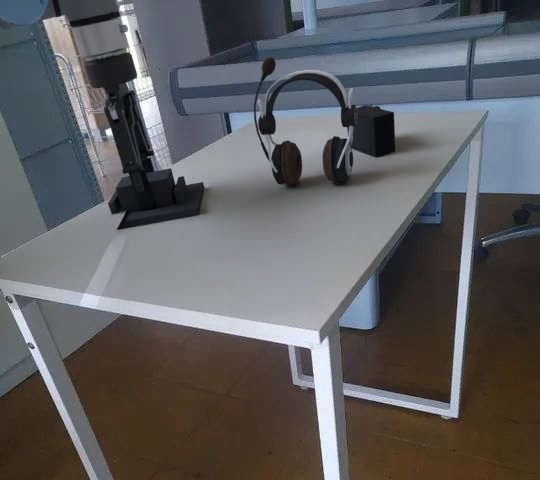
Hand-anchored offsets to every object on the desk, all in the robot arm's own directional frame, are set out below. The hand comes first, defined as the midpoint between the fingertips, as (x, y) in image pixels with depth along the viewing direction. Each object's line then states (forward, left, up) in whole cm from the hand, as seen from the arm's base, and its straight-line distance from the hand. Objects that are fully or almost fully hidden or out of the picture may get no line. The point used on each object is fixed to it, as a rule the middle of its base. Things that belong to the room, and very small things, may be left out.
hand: (150, 201), depth 97 cm
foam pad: (0, 0, 0) cm, 0 cm away
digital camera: (+42, +12, -2) cm, 44 cm away
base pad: (0, 0, -1) cm, 1 cm away
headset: (+29, -2, -2) cm, 29 cm away
